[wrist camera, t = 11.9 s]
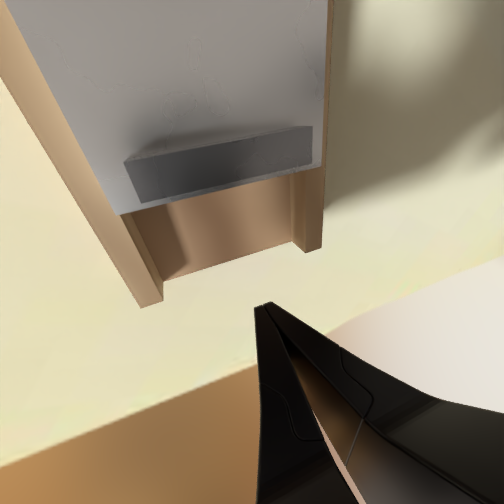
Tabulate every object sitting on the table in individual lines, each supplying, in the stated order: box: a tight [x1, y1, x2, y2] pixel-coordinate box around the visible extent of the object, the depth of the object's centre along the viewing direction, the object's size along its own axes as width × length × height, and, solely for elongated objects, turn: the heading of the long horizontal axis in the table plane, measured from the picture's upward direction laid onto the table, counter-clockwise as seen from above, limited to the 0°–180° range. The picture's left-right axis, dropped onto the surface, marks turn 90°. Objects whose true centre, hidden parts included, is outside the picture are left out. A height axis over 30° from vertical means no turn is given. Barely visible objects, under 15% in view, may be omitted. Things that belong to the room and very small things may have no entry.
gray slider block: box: [4, 0, 328, 215], centre depth 6 cm, size 7×6×4 cm
